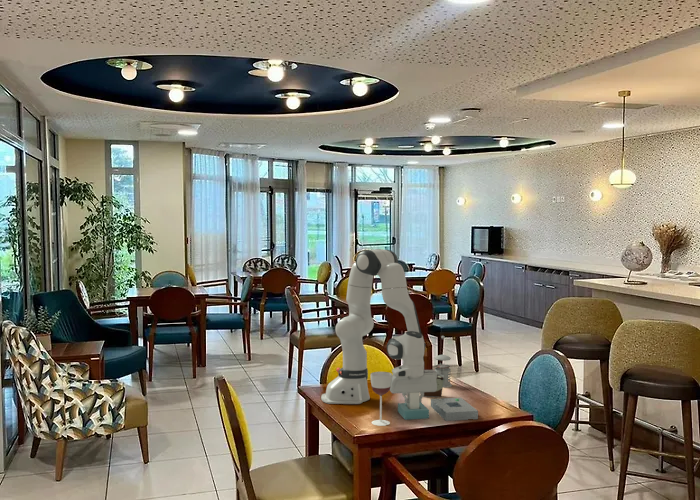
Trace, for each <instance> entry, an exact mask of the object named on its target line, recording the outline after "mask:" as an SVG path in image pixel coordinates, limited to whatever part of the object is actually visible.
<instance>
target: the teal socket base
mask: <svg viewBox="0 0 700 500" xmlns="http://www.w3.org/2000/svg"><path fill="white" fill-rule="evenodd" d="M397 413H399V415H400V416H401V417H402V418H403V419H404V420H422V419H423V420H426V419H430V410H429V408H427V406H425V405H424V403H423V402H421V403H419V409H409V408H408V407H407V403H405V402H398V403H397Z"/></svg>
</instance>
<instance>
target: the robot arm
mask: <svg viewBox="0 0 700 500" xmlns="http://www.w3.org/2000/svg"><path fill="white" fill-rule="evenodd" d="M376 276H378V277H379V278H380V282H381V296H382V300H383V303H384V304H385V305H386V306H387V307H388V308H390V309H393V310H395V311H398V312H399V313H400V314H402V316H403V317H404V321H405V324H406V325H405V326H406V329H407V331H406V332H404V333H403V334H402V335H399V336H395V337H392V338H390V339H388V342H387V344H386V352H387V355H388V356H389V358H391V359H392V360H402V361H403V362H402V365H399V366H397V367H394V368H392V369H391V372H392V373H391V374H392V381H391V387H390V390H389V392H390V393H391V394H392V395H393V394H402V396H403V398H404V403H409V399H408V398H407V393H412V392H419V403H422V401H423V400H422V399H423V396H424V392H435V391H436V390H437V382H436V379H437V372H436V371H435V369H425V361H424V355H425V350H426V342H425V339H424V336H423V334H422V330H421V326H420V322H419V316H418V312H417V309H416V305H415V302H414V301H413V299H411V297H410V295H409V291H408V288H407V286H408V284H407V278H406V274H405V270H404V268H403V266H402V264H400V263H399V258H398V256H397V254H396V253H395V251H392V250H390V249H381V248H375V249H364V250H363V251H359V253H357V255H356V258H355V262H354V263H353V264H352V266H351V269H350V272H349V277H348V281H347V287H346V288H347V290H346V297H345V298H346V299H345V300H346V303H347V305H348V311H349V312H348V315H347V316H344V317H343V318H340V320H339V321H338V322H337V323H336V325H335V334H336V336H337V338H338V339H339V341H340V345H341V349H342V367H341V368H340V367H336V372H337V373H338V374H337V377H335V378H334V379H333V380H331V381H330V382H329V383H328V384H327V386H326V390H325V393H322V394H321V397H320V400H321V401H322V402H323V403H325V404H330V405H331V404H332V405H334V404H335V405H336V404H337V405H339V404H341V405H342V404H343V405H360V404H362V403H363V402H367V401H369V400H370V398H371V397H370V393H369V388H368V378H369V376H368V375H369V373H368V372H369V370H368V364H367V363H368V358H367V357H368V356H367V355H368V354H367V353H368V351H367V349H365V346H364V342H363V337H364V336H367V335H368V334H370V332H371V331H372V330H373V328H374V326H375V324H374V322H375V321H374V319H373V317H372V311H371V310H372V309H371V298H372V289H373V279H374V277H376Z"/></svg>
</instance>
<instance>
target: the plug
mask: <svg viewBox="0 0 700 500" xmlns="http://www.w3.org/2000/svg"><path fill="white" fill-rule="evenodd" d="M419 396H420V392H412V393H407V395H406V398H408V399H409V403H407V407H408V408H409V409H419Z"/></svg>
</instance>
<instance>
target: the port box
mask: <svg viewBox="0 0 700 500" xmlns="http://www.w3.org/2000/svg"><path fill="white" fill-rule="evenodd" d="M430 407H431V409H432V410H433V411H435V413H437V414H438V415H439V416H440V417H441V418H442V419H443V420H444V421H446V422H451V421H452V422H453V421H469V420H468V419H473V420H478V419H479V411H478V409H476V408H475V407H474V406H472V405H471V404H470V403H468V402H467V401H466V400H465V399H464V398H462V397H446V398H442V397H440V398H430Z"/></svg>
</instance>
